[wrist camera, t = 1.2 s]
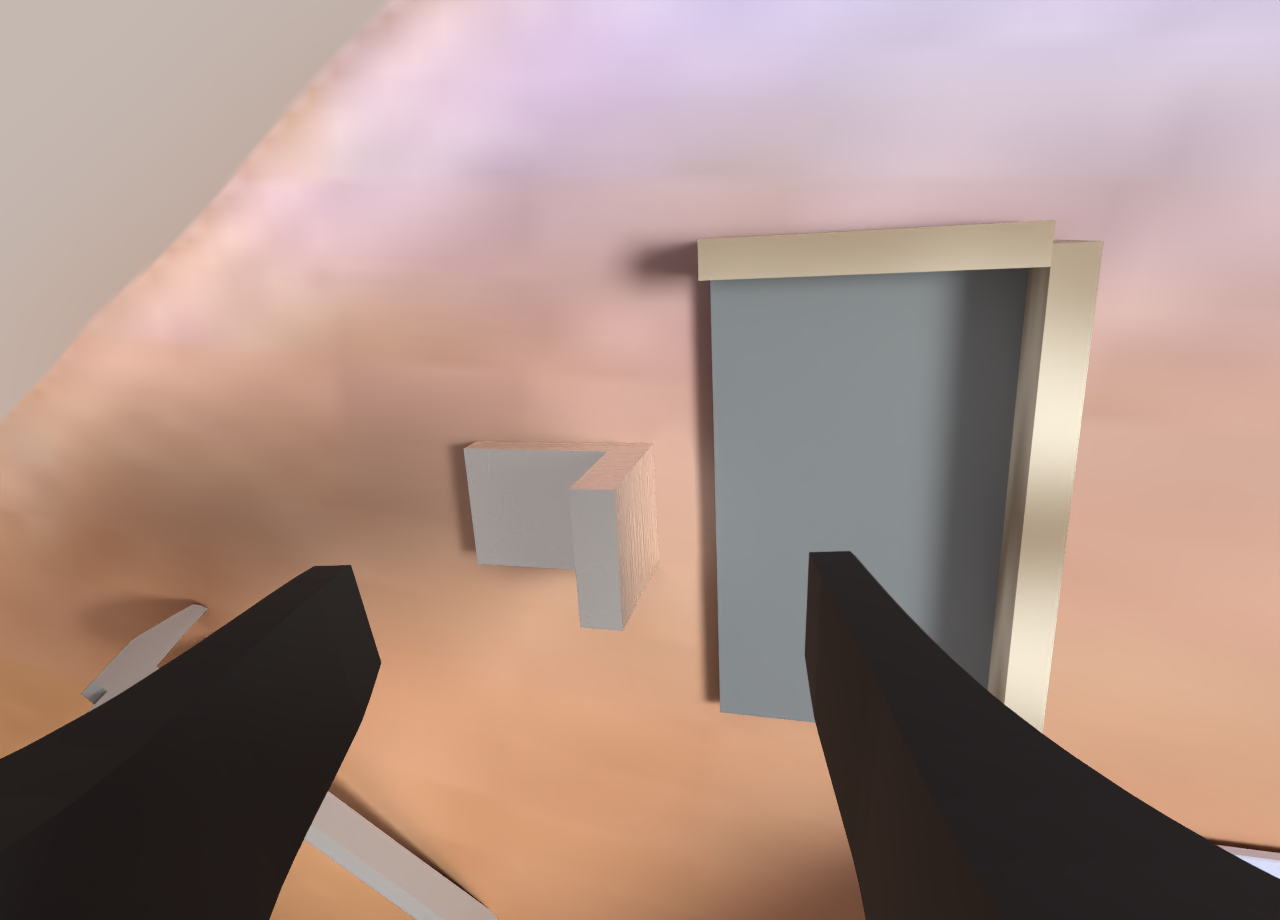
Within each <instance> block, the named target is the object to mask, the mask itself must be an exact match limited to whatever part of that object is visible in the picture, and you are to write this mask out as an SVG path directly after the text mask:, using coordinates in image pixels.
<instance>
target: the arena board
mask: <svg viewBox="0 0 1280 920" xmlns="http://www.w3.org/2000/svg"><path fill="white" fill-rule="evenodd" d="M1028 271H1029V268H1007V269H982V270H956V271H931V272H906V273H881V274H856V275H831V276H806V277H781V278H756V279H731V280H710V294H711V337H712V380H713V423H714V466H715V509H716V552H717V595H718V638H719V681H720V712H723V713H732V714H741V715H750V716H760V717H769V718H778V719H788V720H797V721H806V722H815V719H814V714H813V708H812V701H811V695H810V689H809V682H808V675H807V669H806V662H805V634H806V611H807V588H808V565H809V552H832V551H851V552H852V553H853V554H854V555H855V556H856V557H857V558H858V559H859V560H860V562H861V563H862V564H863V565H864V566H865V567H866V569H867V570H868V571H869V572H870V573H871V574H872V575H873V577H874V578H875V579H876V580H877V581H878V582H879V583H880V585H881V586H882V587H883V588H884V589H885V590H886V591H887V592H888V593H889V595H890V596H891V597H892V598H893V599H894V600H895V601H896V602H897V603H898V604H899V605H900V607H901V608H902V609H903V610H904V611H905V612H906V613H907V614H908V615H909V616H910V617H911V618H912V619H913V620H914V621H915V622H916V623H917V624H918V625H919V626H920V627H921V628H922V629H923V630H924V631H925V632H926V633H927V634H928V635H929V636H930V637H931V638H932V639H933V640H934V641H935V642H936V643H937V644H938V645H939V646H940V647H941V648H942V649H943V650H944V651H945V652H946V653H947V654H948V655H949V656H950V657H951V658H952V659H953V660H954V661H955V662H956V663H957V664H959V665H960V666H961V667H962V668H963V669H964V670H965V671H966V672H967V673H969V674H970V675H971V676H972V677H973V678H974V679H975V680H976V681H977V682H979V683H980V684H981V685H982V686H983V687H984V688H985V689H987V690H988V681H989V671H990V661H991V651H992V640H993V630H994V620H995V609H996V599H997V589H998V579H999V568H1000V558H1001V548H1002V538H1003V527H1004V517H1005V507H1006V497H1007V486H1008V476H1009V466H1010V456H1011V445H1012V435H1013V425H1014V415H1015V404H1016V394H1017V384H1018V373H1019V363H1020V353H1021V343H1022V332H1023V322H1024V312H1025V302H1026V291H1027V281H1028ZM815 723H816V722H815Z"/></svg>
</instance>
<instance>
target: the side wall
mask: <svg viewBox="0 0 1280 920" xmlns="http://www.w3.org/2000/svg"><path fill="white" fill-rule="evenodd" d="M1054 230H1055V220H1045V221H1027V222H1009V223H990V224H972V225H953V226H935V227H916V228H898V229H879V230H861V231H842V232H824V233H805V234H787V235H768V236H750V237H731V238H713V239H697V244H698V280H699V281H705V280H731V279H756V278H781V277H806V276H831V275H856V274H881V273H906V272H931V271H956V270H982V269H1007V268H1032V267H1051V258H1052V249H1053V239H1054Z"/></svg>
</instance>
